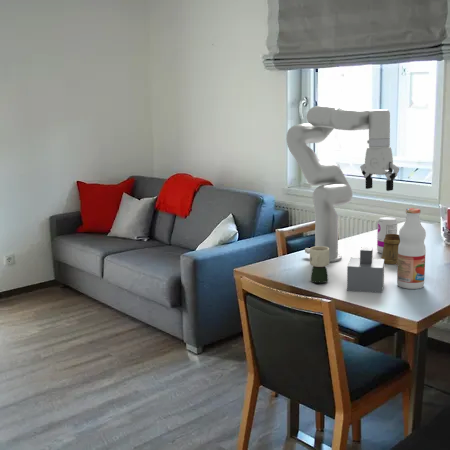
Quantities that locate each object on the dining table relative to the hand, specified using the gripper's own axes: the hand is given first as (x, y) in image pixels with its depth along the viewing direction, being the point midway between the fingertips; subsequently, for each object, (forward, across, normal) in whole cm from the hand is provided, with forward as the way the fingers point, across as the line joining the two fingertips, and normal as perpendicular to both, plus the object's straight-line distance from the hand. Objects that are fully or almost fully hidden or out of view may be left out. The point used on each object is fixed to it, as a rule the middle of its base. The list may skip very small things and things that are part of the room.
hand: (379, 189), depth 226 cm
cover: (+33, +7, -16) cm, 37 cm away
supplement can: (+33, -19, +29) cm, 47 cm away
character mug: (+33, -8, -24) cm, 41 cm away
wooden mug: (+33, -6, +19) cm, 38 cm away
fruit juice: (+34, +16, -3) cm, 37 cm away
